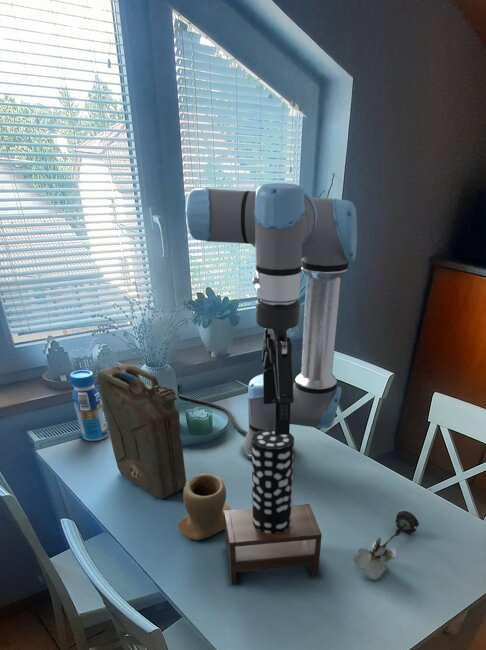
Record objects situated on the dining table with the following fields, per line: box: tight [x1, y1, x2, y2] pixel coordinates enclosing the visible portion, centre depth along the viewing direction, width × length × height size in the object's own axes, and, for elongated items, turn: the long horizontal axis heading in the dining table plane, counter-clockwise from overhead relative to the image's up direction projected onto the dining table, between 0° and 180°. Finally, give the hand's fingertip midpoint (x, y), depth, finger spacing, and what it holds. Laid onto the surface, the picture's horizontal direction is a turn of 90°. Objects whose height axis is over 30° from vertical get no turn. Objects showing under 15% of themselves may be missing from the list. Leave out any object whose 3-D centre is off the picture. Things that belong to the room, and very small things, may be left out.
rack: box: [224, 503, 323, 585], centre depth 118 cm, size 12×20×12 cm, turn 100°
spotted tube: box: [251, 429, 295, 533], centre depth 107 cm, size 8×8×20 cm
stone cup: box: [177, 473, 231, 541], centre depth 127 cm, size 15×12×15 cm
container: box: [97, 363, 187, 499], centre depth 138 cm, size 23×10×30 cm, turn 47°
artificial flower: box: [353, 510, 420, 581], centre depth 123 cm, size 9×22×10 cm, turn 139°
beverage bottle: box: [69, 369, 109, 442], centre depth 161 cm, size 8×8×20 cm
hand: (275, 417), depth 102 cm, fingers open, 13 cm apart
